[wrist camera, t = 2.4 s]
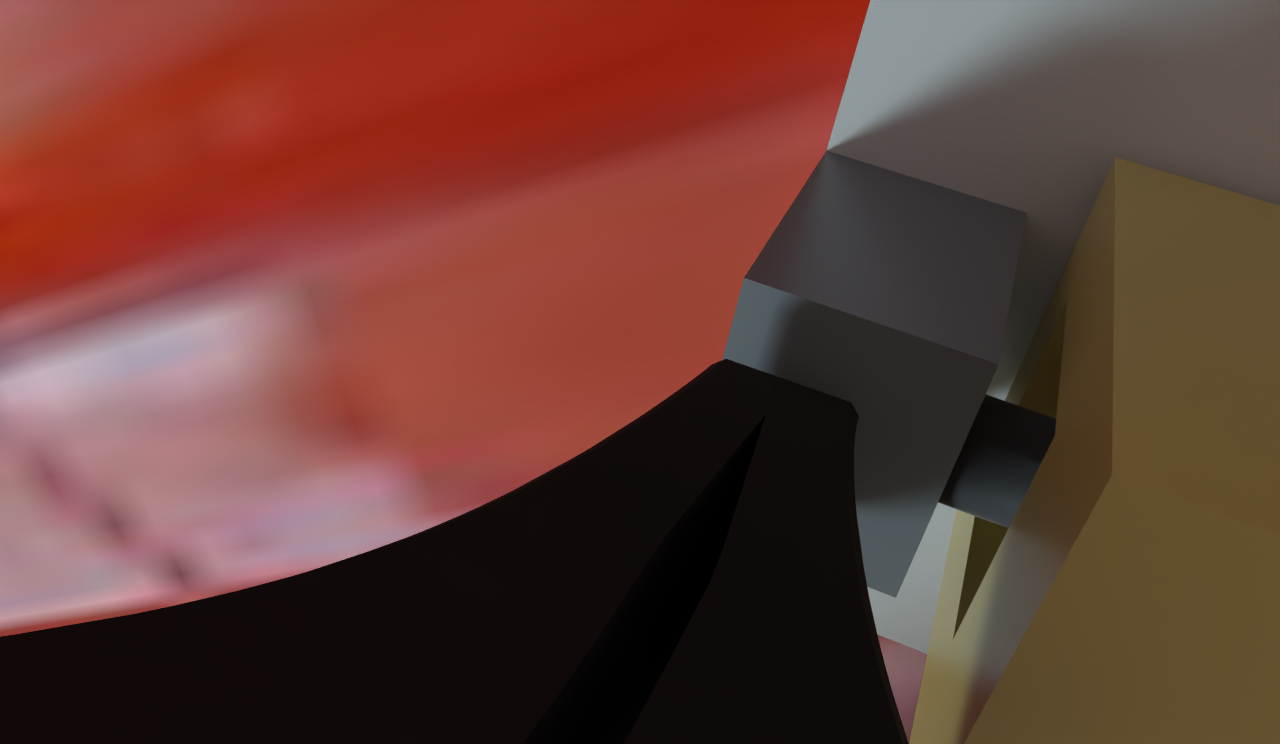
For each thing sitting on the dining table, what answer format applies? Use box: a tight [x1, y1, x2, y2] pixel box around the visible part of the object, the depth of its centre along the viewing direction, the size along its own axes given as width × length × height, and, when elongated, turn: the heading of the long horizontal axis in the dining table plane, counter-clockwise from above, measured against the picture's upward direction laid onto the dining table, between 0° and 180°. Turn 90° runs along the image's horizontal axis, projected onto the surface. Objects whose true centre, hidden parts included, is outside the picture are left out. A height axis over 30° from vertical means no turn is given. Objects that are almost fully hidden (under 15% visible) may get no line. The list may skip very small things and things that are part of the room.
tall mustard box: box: [909, 157, 1280, 744], centre depth 10 cm, size 5×4×6 cm
